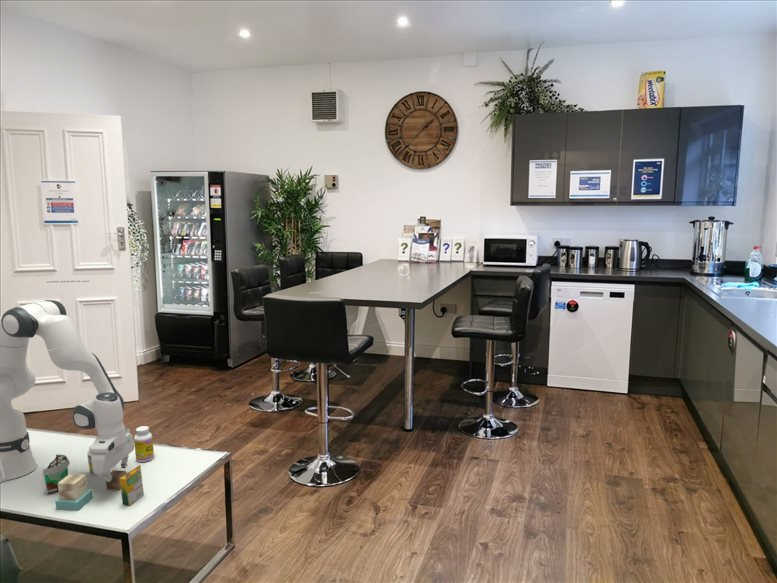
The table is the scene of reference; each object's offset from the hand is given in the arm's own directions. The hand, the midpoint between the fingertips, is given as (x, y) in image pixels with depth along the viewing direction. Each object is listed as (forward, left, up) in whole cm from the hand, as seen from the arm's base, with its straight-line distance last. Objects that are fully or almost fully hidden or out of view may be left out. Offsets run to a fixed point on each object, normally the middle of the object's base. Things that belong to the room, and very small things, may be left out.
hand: (117, 473), depth 208 cm
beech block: (-9, -12, -2) cm, 15 cm away
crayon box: (+10, -8, -5) cm, 14 cm away
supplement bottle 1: (-15, +10, -5) cm, 18 cm away
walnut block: (-1, 0, -5) cm, 5 cm away
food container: (-21, -2, -5) cm, 21 cm away
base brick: (-9, -12, -5) cm, 16 cm away
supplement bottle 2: (-2, +21, -5) cm, 22 cm away
